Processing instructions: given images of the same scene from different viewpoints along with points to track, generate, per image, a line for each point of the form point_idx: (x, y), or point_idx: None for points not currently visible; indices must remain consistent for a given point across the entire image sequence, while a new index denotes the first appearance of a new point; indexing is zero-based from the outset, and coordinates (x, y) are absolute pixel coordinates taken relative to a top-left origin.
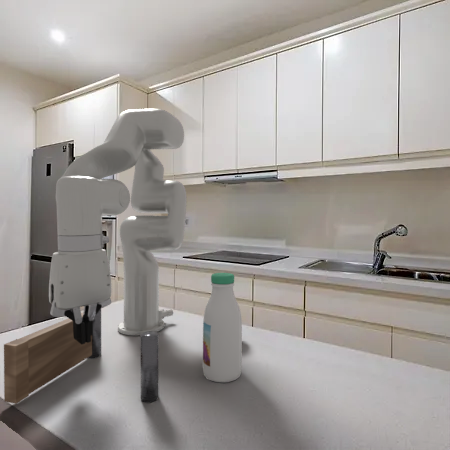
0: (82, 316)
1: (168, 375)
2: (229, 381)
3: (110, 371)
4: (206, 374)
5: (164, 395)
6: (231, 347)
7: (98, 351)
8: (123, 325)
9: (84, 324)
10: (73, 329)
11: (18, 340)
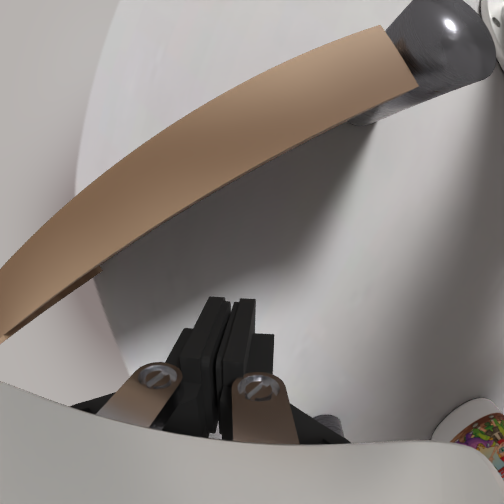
0: (327, 123)
1: (414, 380)
2: None
3: (340, 260)
4: (436, 435)
5: (346, 434)
6: None
7: (371, 122)
8: (501, 5)
9: (208, 434)
10: (174, 349)
11: None
